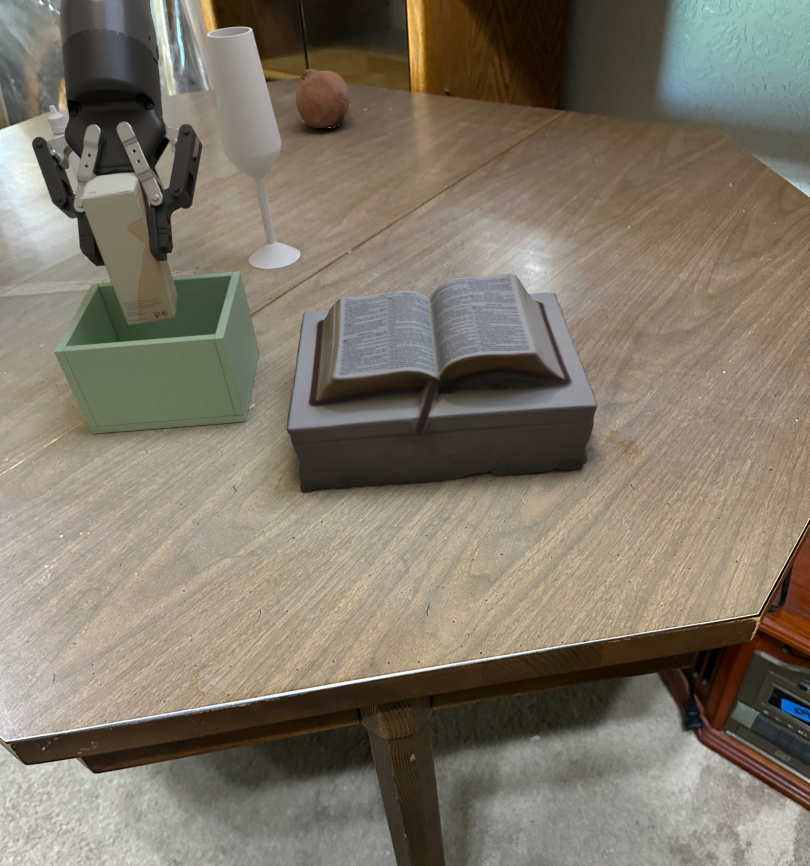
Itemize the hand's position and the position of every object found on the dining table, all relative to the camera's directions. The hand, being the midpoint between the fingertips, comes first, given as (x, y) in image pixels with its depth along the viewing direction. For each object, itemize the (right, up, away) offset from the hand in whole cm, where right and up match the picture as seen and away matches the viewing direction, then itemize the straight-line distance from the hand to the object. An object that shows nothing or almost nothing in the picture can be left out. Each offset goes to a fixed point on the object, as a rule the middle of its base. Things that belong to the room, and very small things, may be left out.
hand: (128, 259), depth 61 cm
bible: (+26, -12, +6) cm, 30 cm away
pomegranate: (+9, +50, +68) cm, 85 cm away
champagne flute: (+7, +12, +32) cm, 35 cm away
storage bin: (+1, -9, +11) cm, 14 cm away
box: (0, -3, +5) cm, 6 cm away
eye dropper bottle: (-28, +31, +53) cm, 68 cm away
